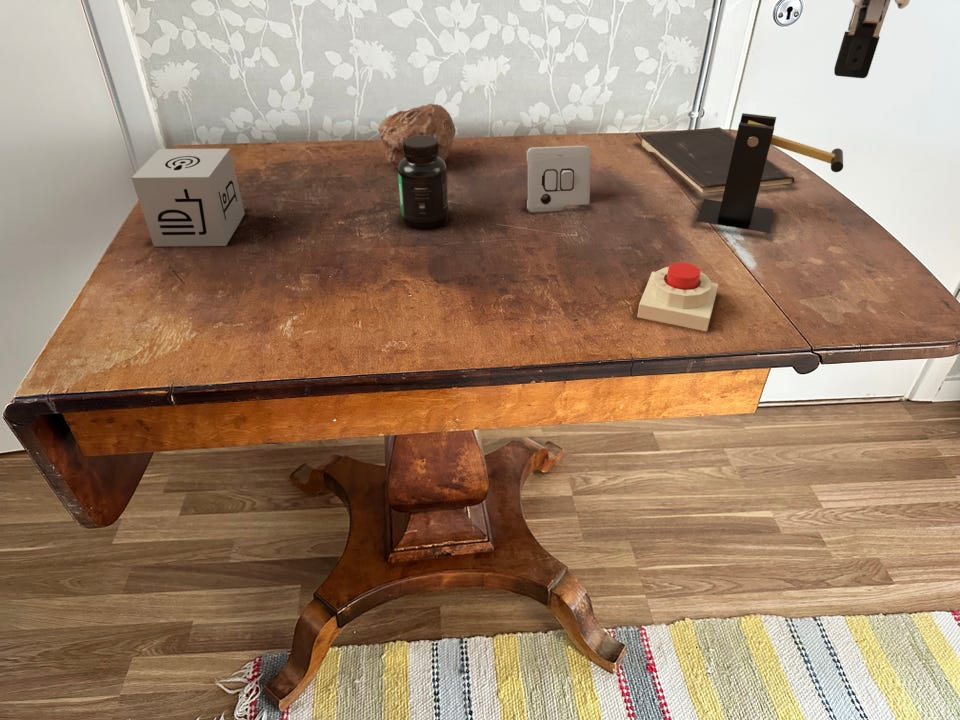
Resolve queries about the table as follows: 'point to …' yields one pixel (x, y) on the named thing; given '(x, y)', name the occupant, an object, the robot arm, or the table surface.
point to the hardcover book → (705, 157)
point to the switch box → (678, 302)
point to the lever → (809, 151)
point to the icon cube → (189, 197)
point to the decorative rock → (416, 130)
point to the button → (683, 276)
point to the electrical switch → (558, 177)
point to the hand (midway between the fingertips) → (849, 74)
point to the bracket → (744, 179)
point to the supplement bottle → (422, 184)
